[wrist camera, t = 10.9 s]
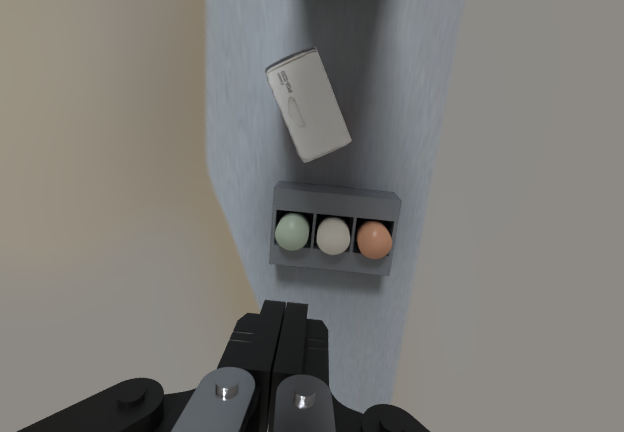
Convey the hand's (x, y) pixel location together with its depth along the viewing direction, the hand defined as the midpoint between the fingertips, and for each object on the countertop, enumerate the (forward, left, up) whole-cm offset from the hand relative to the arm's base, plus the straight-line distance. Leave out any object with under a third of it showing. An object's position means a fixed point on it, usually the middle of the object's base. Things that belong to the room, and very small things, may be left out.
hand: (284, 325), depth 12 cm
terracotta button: (0, +9, -28) cm, 30 cm away
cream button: (+3, +5, -28) cm, 29 cm away
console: (+3, +5, -32) cm, 33 cm away
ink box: (-6, -5, -32) cm, 33 cm away
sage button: (+5, +1, -29) cm, 29 cm away
